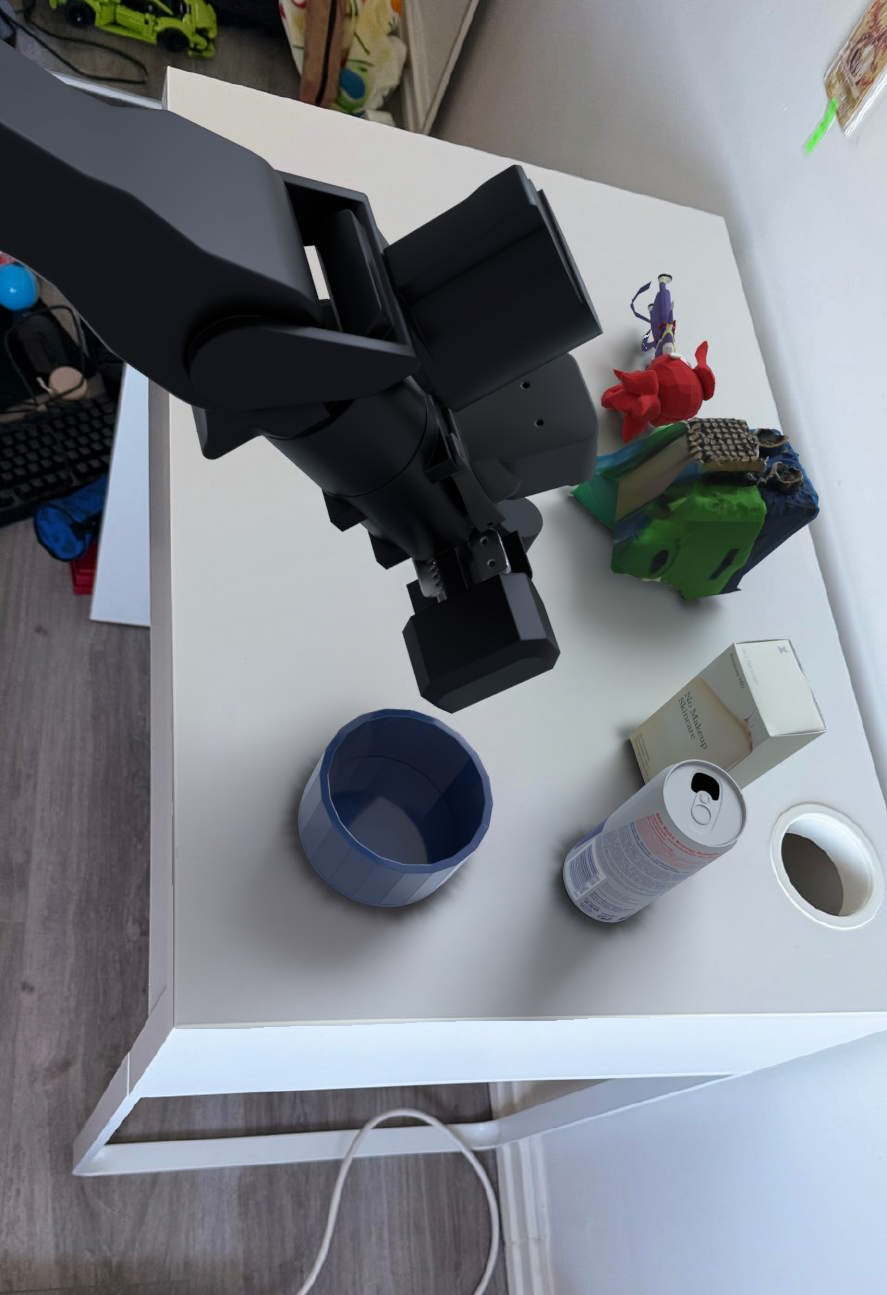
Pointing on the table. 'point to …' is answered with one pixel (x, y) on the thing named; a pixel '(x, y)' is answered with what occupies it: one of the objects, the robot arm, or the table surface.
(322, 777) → the blue plastic pot
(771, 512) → the sculpture
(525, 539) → the scrub stick
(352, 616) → the table surface
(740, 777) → the cosmetic box
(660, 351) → the figurine
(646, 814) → the energy drink
